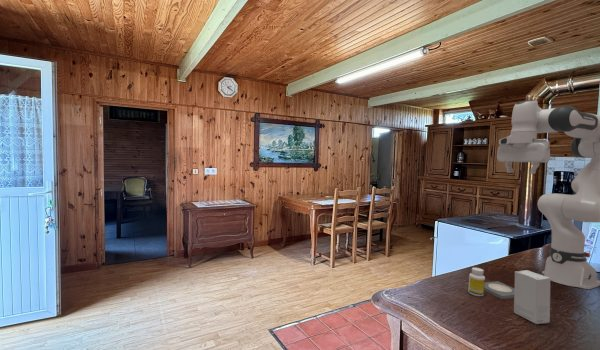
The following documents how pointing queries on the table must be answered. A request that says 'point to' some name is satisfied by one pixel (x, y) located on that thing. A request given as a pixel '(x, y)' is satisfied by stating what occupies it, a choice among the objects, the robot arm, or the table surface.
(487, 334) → the table surface
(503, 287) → the board
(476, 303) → the table surface
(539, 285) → the skincare box
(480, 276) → the supplement bottle
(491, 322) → the table surface
